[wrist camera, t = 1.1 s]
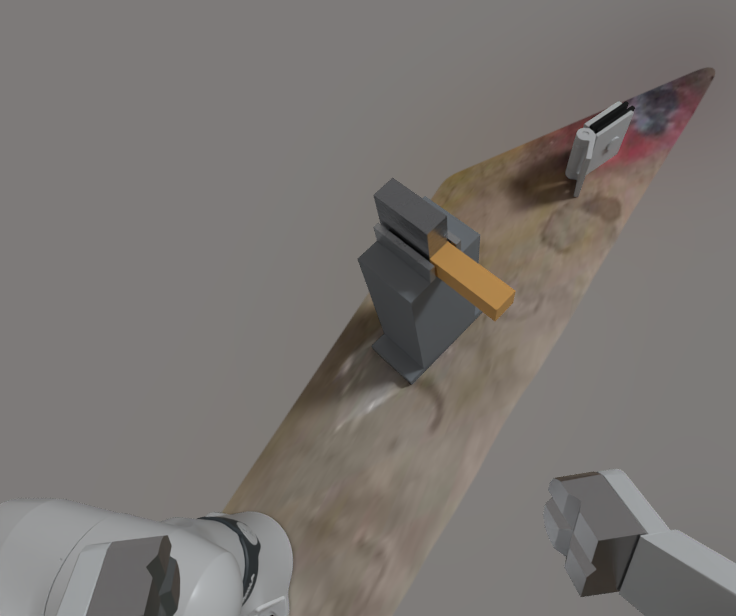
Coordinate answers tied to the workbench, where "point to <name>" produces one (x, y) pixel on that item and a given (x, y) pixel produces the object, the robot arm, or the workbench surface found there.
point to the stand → (416, 299)
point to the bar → (440, 248)
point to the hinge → (598, 141)
